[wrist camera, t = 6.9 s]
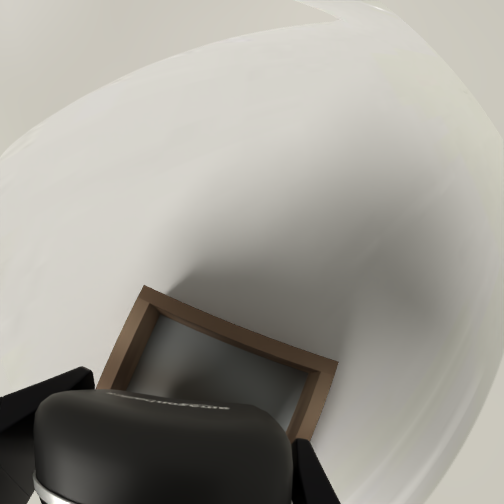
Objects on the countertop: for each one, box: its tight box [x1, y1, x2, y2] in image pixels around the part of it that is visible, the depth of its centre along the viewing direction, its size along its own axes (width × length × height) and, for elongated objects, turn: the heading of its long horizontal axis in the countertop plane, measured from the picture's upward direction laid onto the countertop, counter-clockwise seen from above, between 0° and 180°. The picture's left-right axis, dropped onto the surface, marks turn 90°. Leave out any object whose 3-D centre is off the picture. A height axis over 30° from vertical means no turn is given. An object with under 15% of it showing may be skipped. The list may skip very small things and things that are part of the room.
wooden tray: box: [96, 285, 338, 445], centre depth 15 cm, size 12×12×4 cm
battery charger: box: [33, 389, 293, 504], centre depth 9 cm, size 7×4×11 cm, turn 89°
